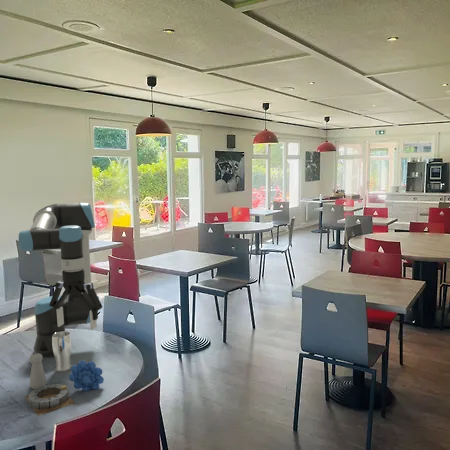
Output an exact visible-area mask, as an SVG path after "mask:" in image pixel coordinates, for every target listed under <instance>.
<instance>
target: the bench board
mask: <svg viewBox="0 0 450 450" xmlns="http://www.w3.org/2000/svg"><path fill="white" fill-rule="evenodd" d="M29 395H30V394H28V395H25V396H24V398H25V399H26V401H27V402H28V403H29V399H28V396H29ZM56 395H57V394H50V395H46V396H43V397H42V399H45V398H51V397H54V396H56ZM75 404H76V403H75V401H74V400H73V399H72V398H71V397H70V396H69V398H68V400H67V401H66V402H65V403H63V404H62V405H60V406H57V407H54V408H51V409H44V410H40V409H39V410H38V409H34V408H32V409H33V411H34V412H35V414H36V416H38V417H39V416H42V415H45V414H49V413H51V412H54V411H56V410H59V409H63V408H65V407H68V406H72V405H75Z"/></svg>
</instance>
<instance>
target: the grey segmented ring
mask: <svg viewBox="0 0 450 450" xmlns="http://www.w3.org/2000/svg"><path fill="white" fill-rule="evenodd" d="M50 394H57V395H56V396H54V397H51V398H45V399H42V397H43V396H46V395H50ZM28 395H29V396H28ZM28 395H27V396H28V399H29V402H28V405H29V407H31V409H33V408H34V409H38V410H39V409H40V410H44V409H51V408H54V407H57V406H60V405H62V404H63V403H65V402H66V401H67V400H68V398H69V397H70V389H69V388H68V386H67V384H66V385H65V384H60V383H54V384H53V383H52V384H51V383H50V384H46V385H45V386H42V387H39V388H37V389H33V390H32V391H30V393H29V394H28Z"/></svg>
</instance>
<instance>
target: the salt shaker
mask: <svg viewBox="0 0 450 450" xmlns="http://www.w3.org/2000/svg"><path fill="white" fill-rule="evenodd" d="M43 358H44V357H42V354H40V353H37V354H34V353H32V354H31V355H30V356H29V362H30V363H31V369H30V375H29V376H30V377H29V387H30V389H33V390H35V389H37V388H39V387H42V386H45V385H47V384H48V380H47V376H46V374H45V370H44V367H43V362H42V361H43Z"/></svg>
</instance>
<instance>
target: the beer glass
mask: <svg viewBox="0 0 450 450" xmlns="http://www.w3.org/2000/svg"><path fill="white" fill-rule="evenodd" d="M52 348H53V353H54V356H53V357H54V360H55V372H65V371H68V370H71V367H72V364H71V353H72V339H71V333H70V332H69V331H66V330H65V331H61V332H57V333H54V334H53V335H52Z"/></svg>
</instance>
